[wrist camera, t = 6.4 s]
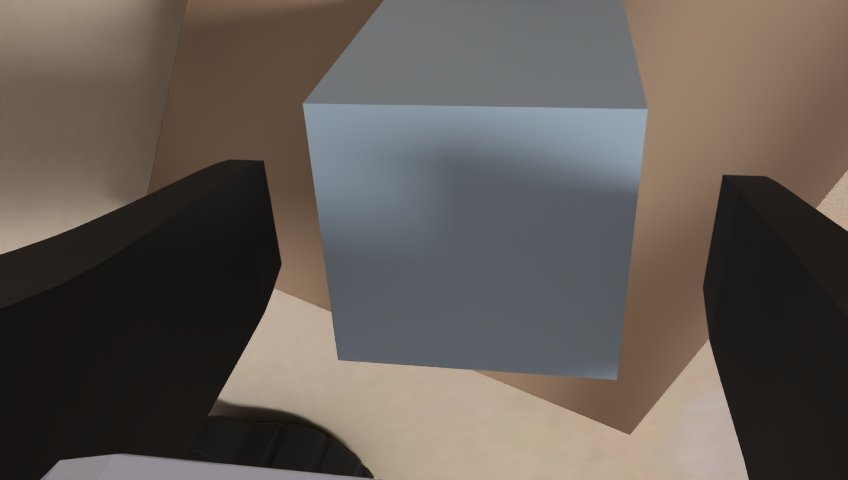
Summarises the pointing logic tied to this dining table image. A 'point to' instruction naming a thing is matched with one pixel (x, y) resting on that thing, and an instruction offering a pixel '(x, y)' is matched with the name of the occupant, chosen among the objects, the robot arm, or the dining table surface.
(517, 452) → the dining table surface
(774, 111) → the walnut base
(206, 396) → the robot arm
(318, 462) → the tape measure
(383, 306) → the slate block
